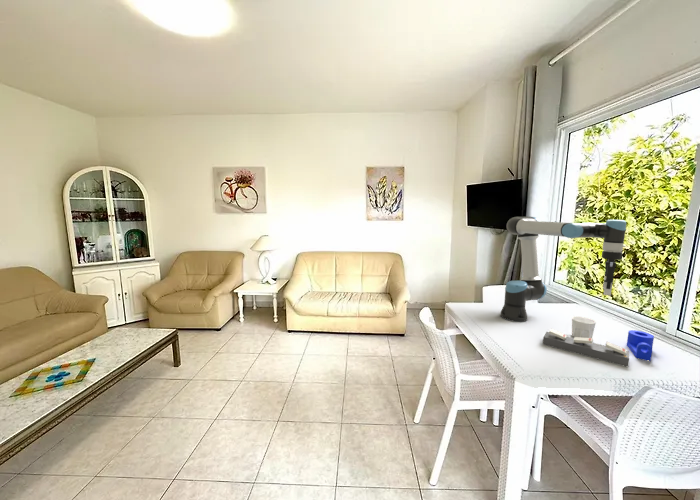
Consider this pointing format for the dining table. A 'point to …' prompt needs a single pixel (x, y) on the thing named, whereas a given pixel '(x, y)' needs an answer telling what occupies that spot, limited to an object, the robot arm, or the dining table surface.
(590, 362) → the dining table surface
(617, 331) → the dining table surface
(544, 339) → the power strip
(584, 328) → the cup
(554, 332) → the rocker
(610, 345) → the rocker
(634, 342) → the bracket
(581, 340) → the rocker
